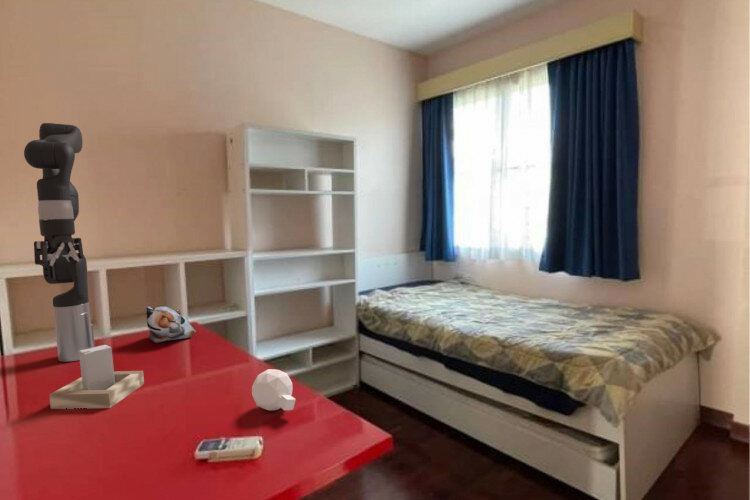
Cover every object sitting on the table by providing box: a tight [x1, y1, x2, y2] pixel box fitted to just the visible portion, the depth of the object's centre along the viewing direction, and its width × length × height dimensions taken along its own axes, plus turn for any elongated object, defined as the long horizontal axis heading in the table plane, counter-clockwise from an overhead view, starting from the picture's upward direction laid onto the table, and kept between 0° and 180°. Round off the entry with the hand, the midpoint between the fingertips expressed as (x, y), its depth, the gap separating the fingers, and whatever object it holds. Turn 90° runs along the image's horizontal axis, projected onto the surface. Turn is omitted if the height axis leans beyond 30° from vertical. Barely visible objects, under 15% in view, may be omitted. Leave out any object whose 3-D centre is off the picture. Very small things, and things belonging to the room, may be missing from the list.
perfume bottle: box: [251, 368, 297, 411], centre depth 95 cm, size 9×9×12 cm
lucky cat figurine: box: [145, 305, 197, 344], centre depth 152 cm, size 17×14×16 cm
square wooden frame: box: [49, 370, 145, 410], centre depth 106 cm, size 14×14×4 cm
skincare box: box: [79, 344, 115, 390], centre depth 105 cm, size 6×4×12 cm
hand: (62, 277), depth 116 cm, fingers open, 8 cm apart
